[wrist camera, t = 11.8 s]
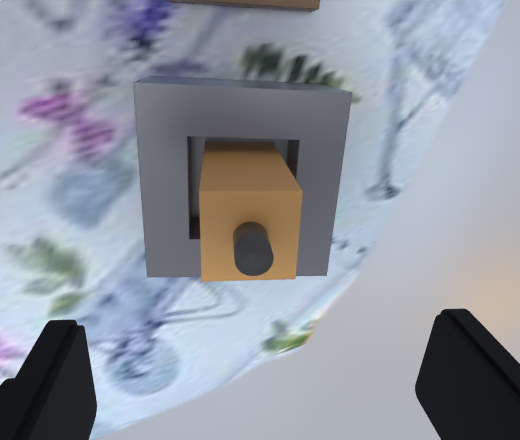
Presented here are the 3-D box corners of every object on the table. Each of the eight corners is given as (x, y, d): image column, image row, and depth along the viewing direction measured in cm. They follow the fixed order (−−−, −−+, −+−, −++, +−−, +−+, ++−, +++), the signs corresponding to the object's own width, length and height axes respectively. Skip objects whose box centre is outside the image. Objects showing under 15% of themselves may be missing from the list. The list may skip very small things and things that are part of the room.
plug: (205, 141, 26) (197, 208, 15) (272, 141, 26) (313, 208, 15) (206, 204, 28) (200, 307, 17) (269, 204, 28) (303, 303, 17)
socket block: (150, 75, 26) (133, 82, 21) (325, 84, 27) (351, 92, 22) (159, 237, 31) (147, 277, 25) (307, 237, 32) (326, 275, 27)
